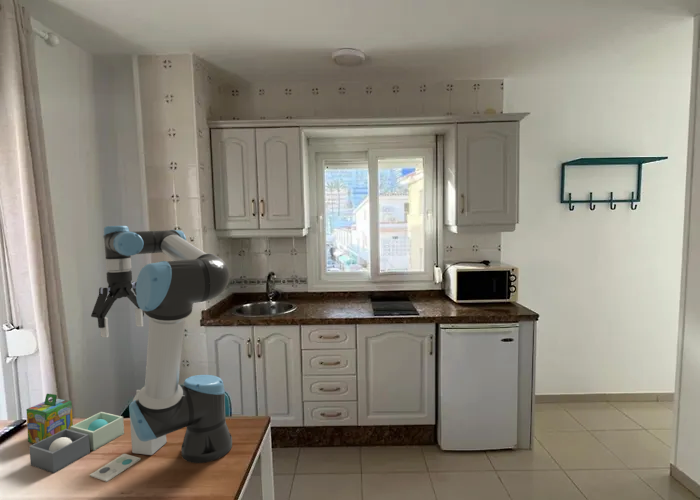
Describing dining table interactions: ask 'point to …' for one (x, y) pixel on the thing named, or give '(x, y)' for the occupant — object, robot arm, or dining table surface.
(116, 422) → the pale green tray
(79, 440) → the grey storage bin
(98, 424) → the ball teal
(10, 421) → the dining table surface
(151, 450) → the milk carton
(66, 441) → the ball white
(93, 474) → the card
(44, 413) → the chalk box
